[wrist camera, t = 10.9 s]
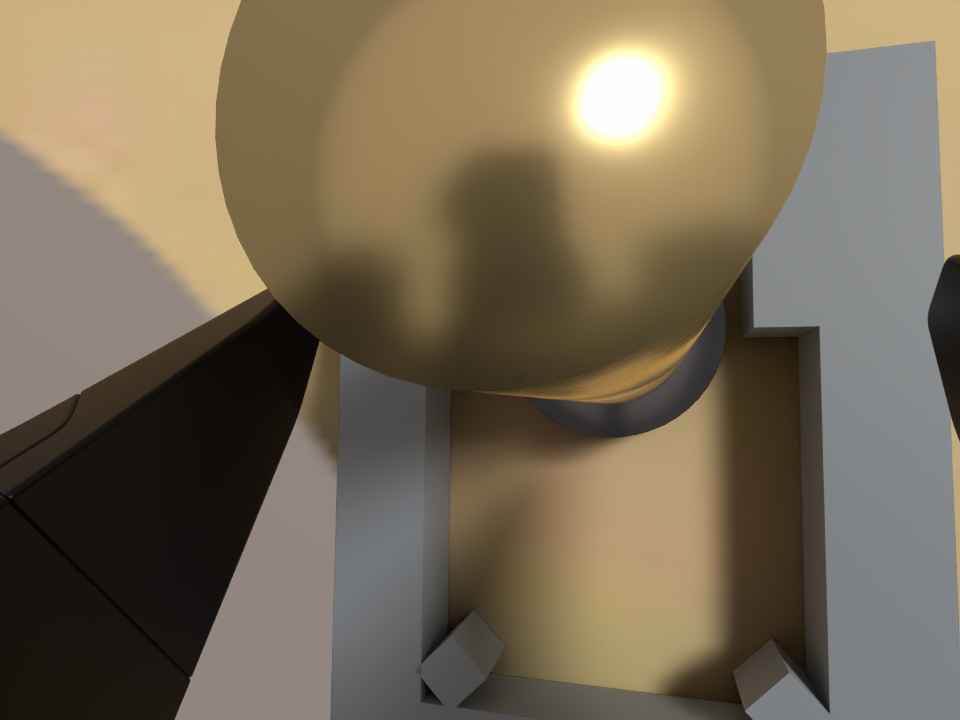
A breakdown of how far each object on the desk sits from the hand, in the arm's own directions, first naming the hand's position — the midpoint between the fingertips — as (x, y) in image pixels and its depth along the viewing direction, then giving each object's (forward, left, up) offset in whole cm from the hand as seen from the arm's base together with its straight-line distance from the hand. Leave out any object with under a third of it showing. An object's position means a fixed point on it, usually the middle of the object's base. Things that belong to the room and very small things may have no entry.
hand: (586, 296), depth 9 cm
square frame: (-1, -2, -7) cm, 7 cm away
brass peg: (0, 0, -7) cm, 7 cm away
